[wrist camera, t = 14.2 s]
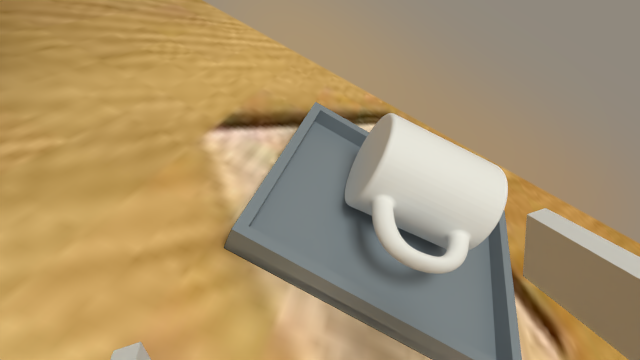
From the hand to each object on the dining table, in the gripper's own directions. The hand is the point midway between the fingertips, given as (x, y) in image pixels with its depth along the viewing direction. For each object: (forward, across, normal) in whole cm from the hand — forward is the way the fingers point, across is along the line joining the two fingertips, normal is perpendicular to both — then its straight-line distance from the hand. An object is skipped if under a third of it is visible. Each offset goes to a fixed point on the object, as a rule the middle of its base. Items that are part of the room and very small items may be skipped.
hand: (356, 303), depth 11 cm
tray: (+16, +7, -9) cm, 19 cm away
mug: (+15, +7, -8) cm, 19 cm away
